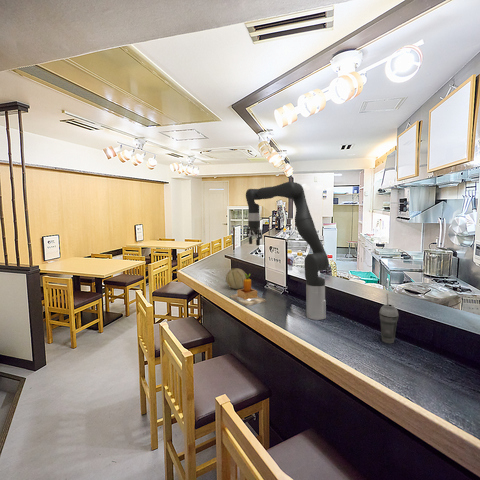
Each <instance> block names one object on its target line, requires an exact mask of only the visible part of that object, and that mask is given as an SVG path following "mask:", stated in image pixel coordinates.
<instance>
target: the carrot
mask: <svg viewBox="0 0 480 480" xmlns="http://www.w3.org/2000/svg"><path fill="white" fill-rule="evenodd" d="M245 276H246V279H244V280H243V284H244V286H243V289H244V291H245V293H246V292H250V291H251V288H252V279H250V277H251V273H248V274H247V273H246V272H245Z"/></svg>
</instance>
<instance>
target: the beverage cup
mask: <svg viewBox="0 0 480 480" xmlns="http://www.w3.org/2000/svg"><path fill="white" fill-rule="evenodd" d="M378 314H379V321H380V335H381V336H380V337H381V341H382V342H383V343H385V344H394V343H395V339H396V331H397V325H398V324H397V323H398V321H399V311H398V309H397V308H396V306H394V305H392V304H389V293H386V304H384V305H382V306H381V307H380V309H379V312H378Z"/></svg>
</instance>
